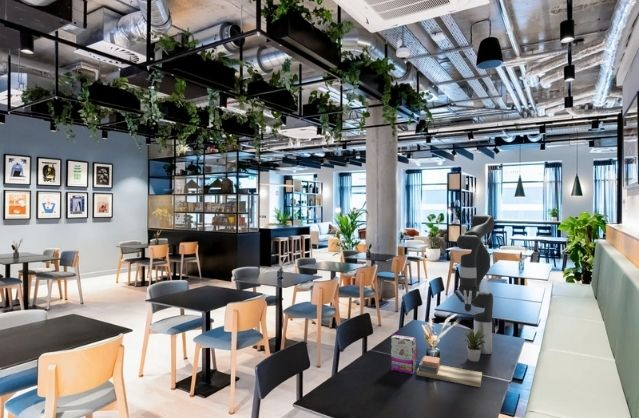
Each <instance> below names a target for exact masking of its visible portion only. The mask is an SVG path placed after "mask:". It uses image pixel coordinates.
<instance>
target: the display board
mask: <svg viewBox="0 0 639 418" xmlns="http://www.w3.org/2000/svg"><path fill="white" fill-rule="evenodd" d="M425 356H426V355H424V356H422V359H421V360H420V362H419V364H418V368H416V376H421V377H426V378H429V379H430V378H431V379H436V380H441V381H445V382H446V381H447V382H451V383H457V384H462V385H466V386H473V387H478V388H481V386H482V385H481V384H482V379H483V372H482V371H475V370H472V369H471V370H470V369H464V368H458V367H453V366H448V365H443V364H442V365H441V364H440V368H439V371H438V373H437V367H434V366H429V365H423V359H424V357H425Z"/></svg>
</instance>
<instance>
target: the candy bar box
mask: <svg viewBox="0 0 639 418" xmlns="http://www.w3.org/2000/svg"><path fill="white" fill-rule="evenodd" d="M416 344H417V343H416V337H413V336H406V335H399V334H393V335H391V337H390V371H393V370H395V371H394V372H398V371H399V372H398V373H403V372H404V373H403V374H409V375H414V374H415V373H416V371H417V368H416V366H417V362H416V346H415V345H416Z"/></svg>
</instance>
